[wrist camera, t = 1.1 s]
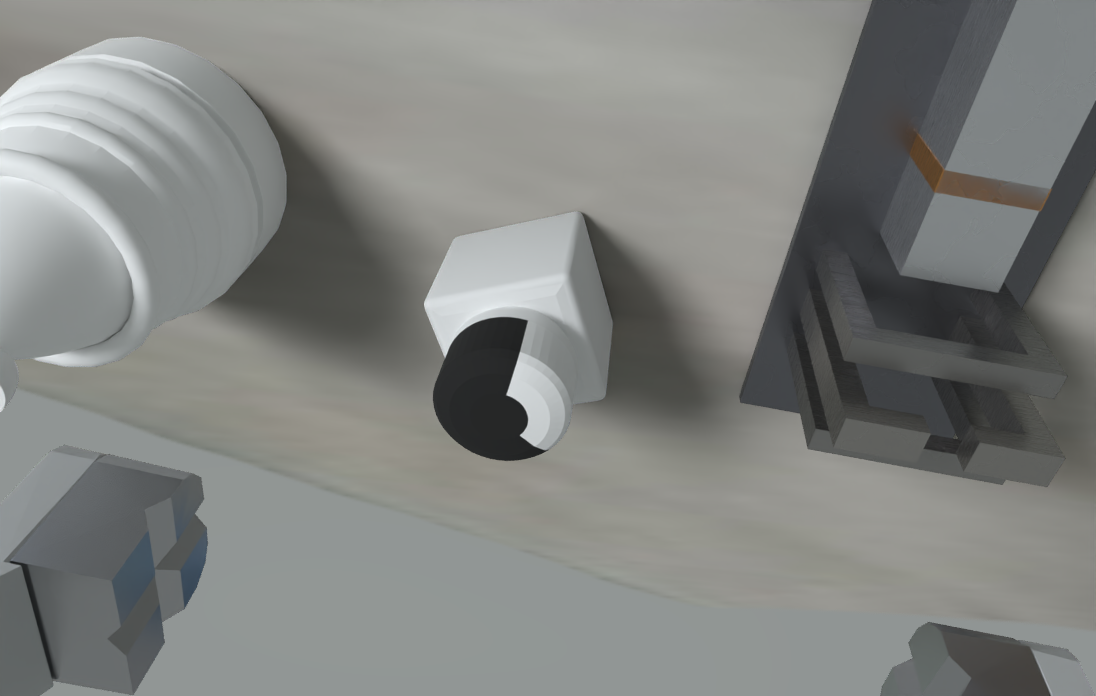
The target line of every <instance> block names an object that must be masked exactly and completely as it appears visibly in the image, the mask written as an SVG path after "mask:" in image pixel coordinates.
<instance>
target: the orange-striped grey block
mask: <svg viewBox="0 0 1096 696" xmlns="http://www.w3.org/2000/svg"><path fill="white" fill-rule="evenodd" d="M1095 101H1096V0H972V1H971V4H970V6H969V9H968V11H967V14H966V16H965V19H964V21H963V24H962V26H961V29H960V31H959V34H958V36H957V39H956V41H955V44H954V47H953V49H952V52H951V54H950V57H949V59H948V62H947V64H946V67H945V69H944V72H943V74H942V77H941V79H940V82H939V84H938V87H937V89H936V92H935V94H934V97H933V99H932V102H931V104H930V107H929V109H928V112H927V114H926V117H925V119H924V122H923V124H922V127H921V129H920V132H919V134H917V136H916V139H915V141H914V144H913V146H912V149H911V151H910V154H909V155H910V157H909V159H908V162H907V164H906V167H905V169H904V172H903V174H902V177H901V179H900V182H899V184H898V187H897V189H896V192H895V194H894V197H893V199H892V202H891V204H890V207H889V210H888V212H887V215H886V217H885V220H884V222H883V225H882V227H881V230H880V234H881V236H882V238H883V240H884V243H885V245H886V247H887V249H888V251H889V253H890V255H891V257H892V259H893V262H894V264H895V266H896V268H897V270H898V272H899V274H900V275H902V276H908V277H914V278H919V279H925V280H930V281H936V282H941V283H947V284H952V285H958V286H964V287H969V288H975V289H980V290H986V291H991V292H997V293H998V292H999V290H1000V288H1001V286H1002V284H1003V282H1004V280H1005V278H1006V276H1007V274H1008V272H1009V270H1010V268H1011V266H1012V264H1013V262H1014V260H1015V258H1016V256H1017V254H1018V252H1019V250H1020V248H1021V246H1022V245H1023V243H1024V241H1025V239H1026V237H1027V235H1028V233H1029V231H1030V229H1031V227H1032V225H1033V223H1034V221H1035V219H1036V217H1037V215H1038V213H1039V211H1041V210H1042V208H1043V206H1044V204H1045V202H1046V200H1047V198H1048V196H1049V194H1050V192H1051V190H1052V189H1051V187H1052V185H1053V183H1054V182H1055V180H1056V178H1057V176H1058V174H1059V172H1060V170H1061V168H1062V166H1063V164H1064V162H1065V160H1066V158H1067V156H1068V154H1069V152H1070V150H1071V148H1072V146H1073V144H1074V142H1075V140H1076V138H1077V136H1078V134H1079V132H1080V130H1081V128H1082V126H1083V124H1084V122H1085V120H1086V119H1087V117H1088V115H1089V113H1090V111H1091V109H1092V107H1093V105H1094V103H1095Z"/></svg>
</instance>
